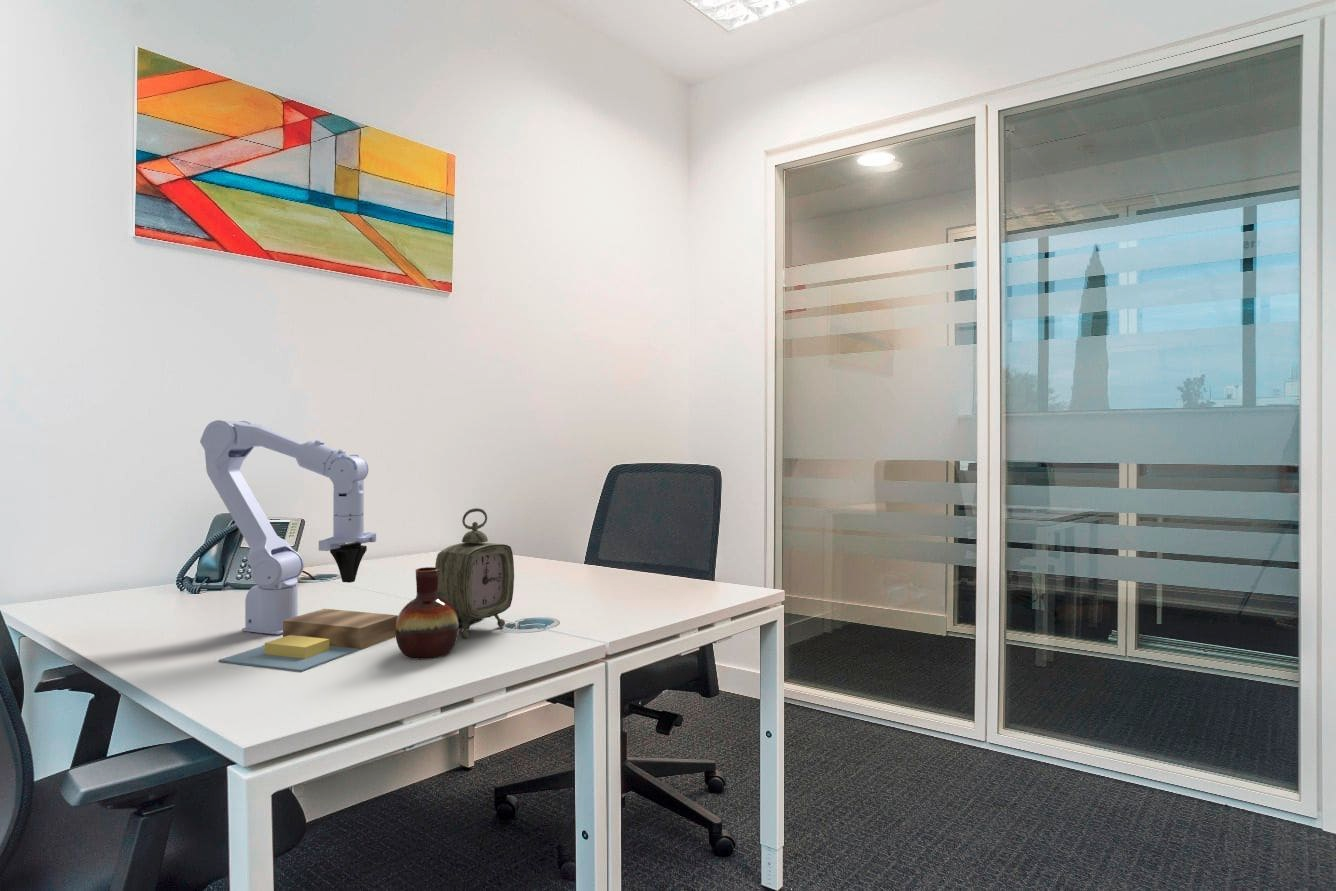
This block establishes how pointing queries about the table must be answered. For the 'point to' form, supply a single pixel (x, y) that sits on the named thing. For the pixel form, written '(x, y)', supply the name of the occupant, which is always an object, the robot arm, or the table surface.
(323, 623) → the brown wooden block
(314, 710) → the table surface
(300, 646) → the flat yellow block
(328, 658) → the mat
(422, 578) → the vase
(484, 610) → the tabletop clock
